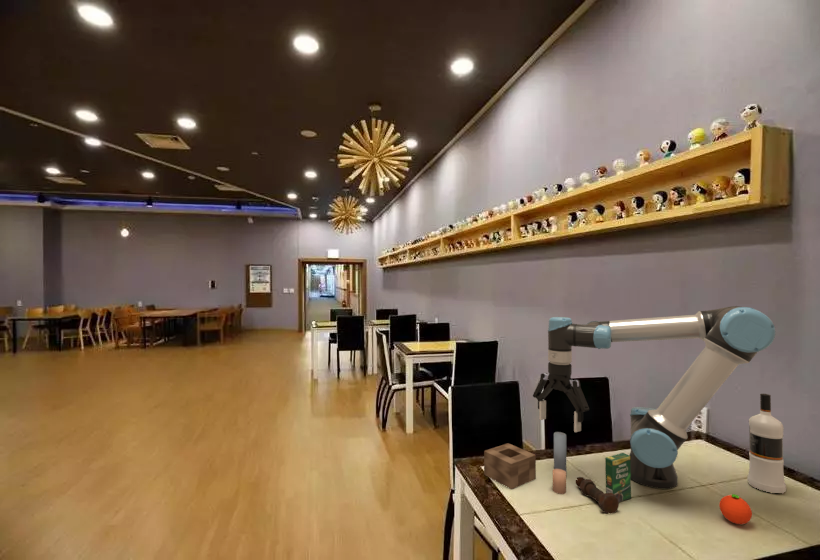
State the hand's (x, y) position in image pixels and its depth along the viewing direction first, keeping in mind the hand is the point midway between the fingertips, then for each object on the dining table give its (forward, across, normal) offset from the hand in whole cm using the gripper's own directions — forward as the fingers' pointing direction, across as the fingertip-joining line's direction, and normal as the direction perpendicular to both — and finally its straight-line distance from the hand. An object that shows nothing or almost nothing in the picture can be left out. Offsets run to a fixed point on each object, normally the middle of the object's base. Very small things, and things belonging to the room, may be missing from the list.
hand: (559, 425), depth 135 cm
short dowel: (+17, +6, -9) cm, 20 cm away
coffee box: (+17, +19, +1) cm, 26 cm away
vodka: (+17, +42, +48) cm, 66 cm away
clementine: (+17, +43, +17) cm, 50 cm away
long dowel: (+17, 0, 0) cm, 17 cm away
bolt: (+17, +15, -4) cm, 24 cm away
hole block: (+17, -9, -15) cm, 24 cm away
